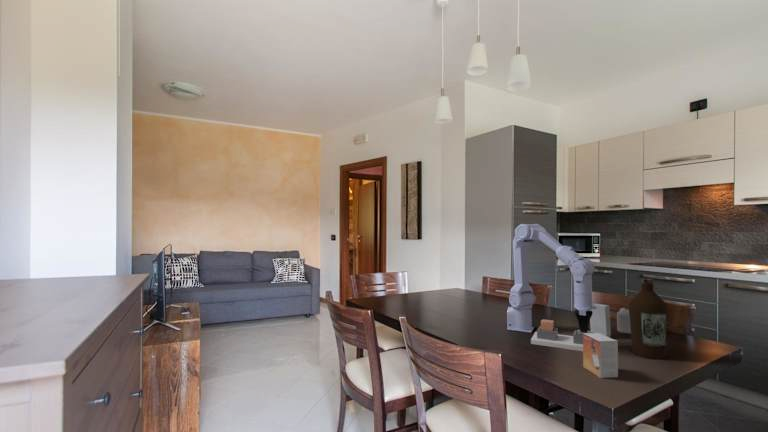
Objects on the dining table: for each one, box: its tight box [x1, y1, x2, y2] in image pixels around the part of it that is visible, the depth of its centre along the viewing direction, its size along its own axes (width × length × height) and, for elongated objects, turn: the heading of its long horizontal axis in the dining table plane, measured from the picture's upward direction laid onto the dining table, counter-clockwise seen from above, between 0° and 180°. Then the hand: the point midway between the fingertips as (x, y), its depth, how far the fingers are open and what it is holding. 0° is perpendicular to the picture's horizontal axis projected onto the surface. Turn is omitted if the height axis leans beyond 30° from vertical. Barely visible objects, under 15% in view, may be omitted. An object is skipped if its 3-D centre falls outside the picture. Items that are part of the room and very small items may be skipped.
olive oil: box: [628, 278, 668, 360], centre depth 125 cm, size 11×11×25 cm
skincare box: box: [589, 302, 612, 338], centre depth 146 cm, size 6×4×12 cm
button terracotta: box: [540, 319, 555, 332], centre depth 140 cm, size 4×4×4 cm
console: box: [530, 325, 593, 352], centre depth 137 cm, size 22×12×4 cm, turn 60°
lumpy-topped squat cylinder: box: [616, 307, 631, 335], centre depth 153 cm, size 10×13×9 cm
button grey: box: [577, 328, 591, 335], centre depth 134 cm, size 4×4×4 cm
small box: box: [582, 333, 619, 379], centre depth 110 cm, size 8×6×10 cm
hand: (583, 331), depth 134 cm, fingers closed, pressing on button grey
